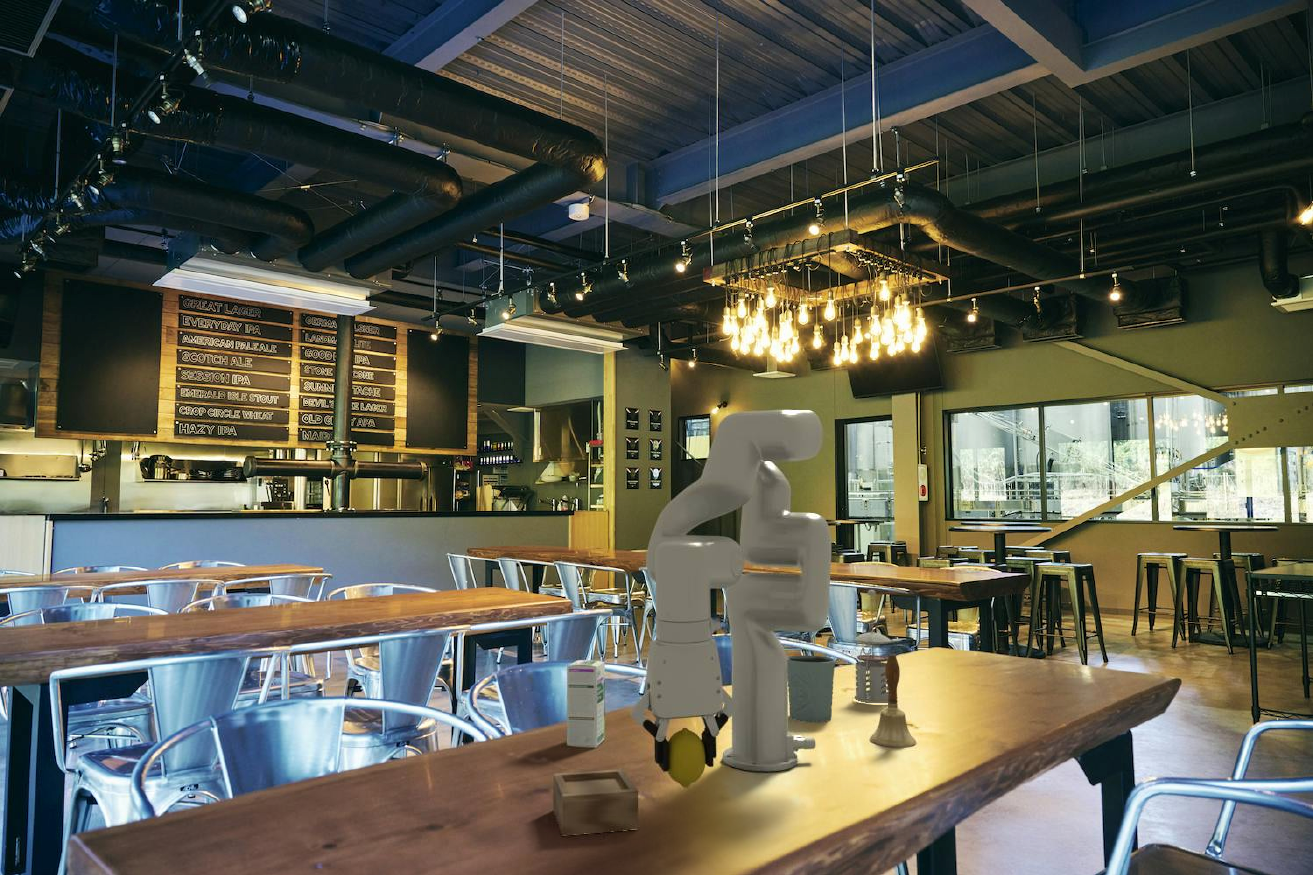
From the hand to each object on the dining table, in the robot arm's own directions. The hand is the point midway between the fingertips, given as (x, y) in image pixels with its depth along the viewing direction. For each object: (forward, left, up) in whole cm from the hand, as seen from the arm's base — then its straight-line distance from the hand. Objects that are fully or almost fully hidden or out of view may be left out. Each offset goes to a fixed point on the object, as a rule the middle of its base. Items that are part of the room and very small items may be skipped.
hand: (685, 764), depth 113 cm
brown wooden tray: (+12, -4, -8) cm, 15 cm away
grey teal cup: (-42, -53, -8) cm, 68 cm away
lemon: (0, 0, -3) cm, 3 cm away
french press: (-62, -64, -8) cm, 90 cm away
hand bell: (-49, -32, -8) cm, 59 cm away
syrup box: (+7, -43, -8) cm, 44 cm away
